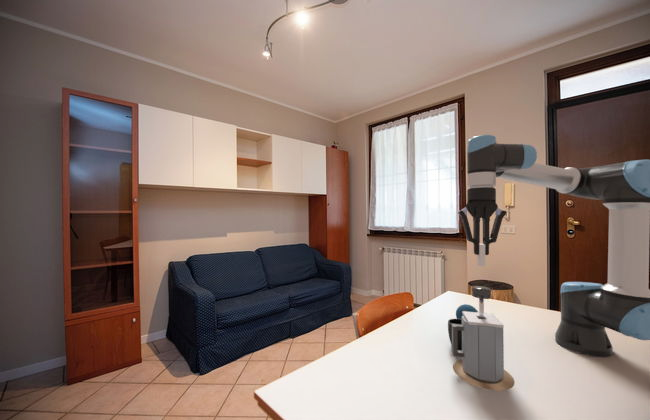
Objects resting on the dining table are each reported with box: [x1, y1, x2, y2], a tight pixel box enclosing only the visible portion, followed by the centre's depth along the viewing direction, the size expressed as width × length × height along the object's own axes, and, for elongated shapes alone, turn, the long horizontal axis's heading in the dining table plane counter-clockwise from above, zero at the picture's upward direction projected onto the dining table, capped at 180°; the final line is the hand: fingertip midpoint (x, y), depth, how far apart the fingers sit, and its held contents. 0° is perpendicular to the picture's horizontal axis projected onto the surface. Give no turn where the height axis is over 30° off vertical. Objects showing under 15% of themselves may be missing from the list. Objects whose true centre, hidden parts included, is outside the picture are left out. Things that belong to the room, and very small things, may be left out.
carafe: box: [451, 311, 505, 384], centre depth 82 cm, size 13×10×17 cm
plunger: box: [471, 285, 492, 327], centre depth 82 cm, size 8×8×12 cm
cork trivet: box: [452, 358, 515, 392], centre depth 82 cm, size 16×16×1 cm
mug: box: [447, 318, 462, 351], centre depth 97 cm, size 8×12×10 cm
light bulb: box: [455, 303, 479, 319], centre depth 108 cm, size 8×8×12 cm
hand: (481, 265), depth 82 cm, fingers closed
